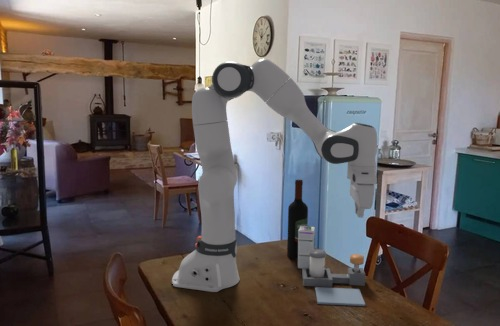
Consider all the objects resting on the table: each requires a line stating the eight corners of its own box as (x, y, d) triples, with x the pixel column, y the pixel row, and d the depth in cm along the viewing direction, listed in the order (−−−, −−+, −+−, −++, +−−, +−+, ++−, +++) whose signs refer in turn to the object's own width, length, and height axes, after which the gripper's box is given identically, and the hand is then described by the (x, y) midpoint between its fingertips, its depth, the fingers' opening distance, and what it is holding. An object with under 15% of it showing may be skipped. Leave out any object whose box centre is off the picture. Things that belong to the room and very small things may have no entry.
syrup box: (313, 269, 150) (314, 230, 147) (297, 268, 151) (298, 229, 149) (314, 263, 155) (315, 226, 153) (298, 262, 156) (299, 225, 154)
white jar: (309, 283, 138) (310, 254, 137) (308, 276, 144) (309, 248, 142) (325, 284, 138) (326, 255, 136) (323, 277, 143) (325, 249, 142)
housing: (303, 285, 137) (303, 274, 136) (302, 274, 146) (302, 263, 145) (366, 288, 135) (366, 277, 134) (360, 276, 144) (361, 265, 144)
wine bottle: (296, 250, 168) (298, 177, 164) (310, 256, 163) (313, 180, 158) (283, 254, 164) (284, 179, 159) (296, 260, 158) (299, 183, 153)
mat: (317, 303, 125) (317, 301, 125) (315, 288, 135) (315, 287, 134) (365, 306, 124) (365, 304, 124) (359, 290, 133) (359, 289, 133)
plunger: (350, 277, 137) (351, 258, 136) (348, 272, 142) (349, 253, 141) (364, 278, 137) (365, 259, 136) (361, 272, 141) (362, 254, 140)
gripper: (346, 168, 145) (344, 206, 147) (356, 179, 125) (354, 224, 127) (365, 168, 144) (362, 207, 146) (378, 179, 124) (375, 224, 126)
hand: (359, 215), depth 136 cm, fingers open, 2 cm apart
